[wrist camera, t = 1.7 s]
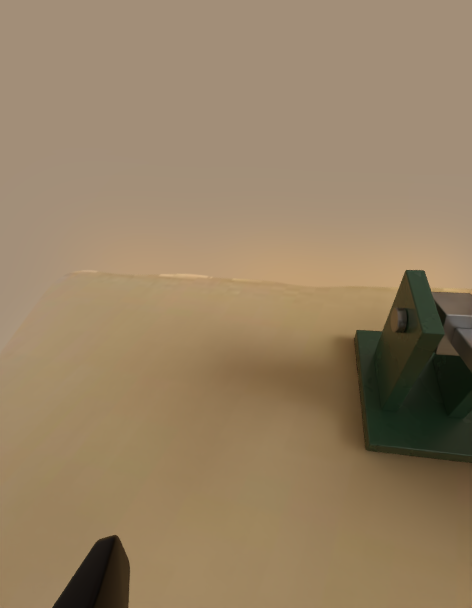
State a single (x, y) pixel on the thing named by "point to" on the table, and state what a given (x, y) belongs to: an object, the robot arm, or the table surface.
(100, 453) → the table surface
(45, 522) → the table surface
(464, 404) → the bracket
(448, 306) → the lever
